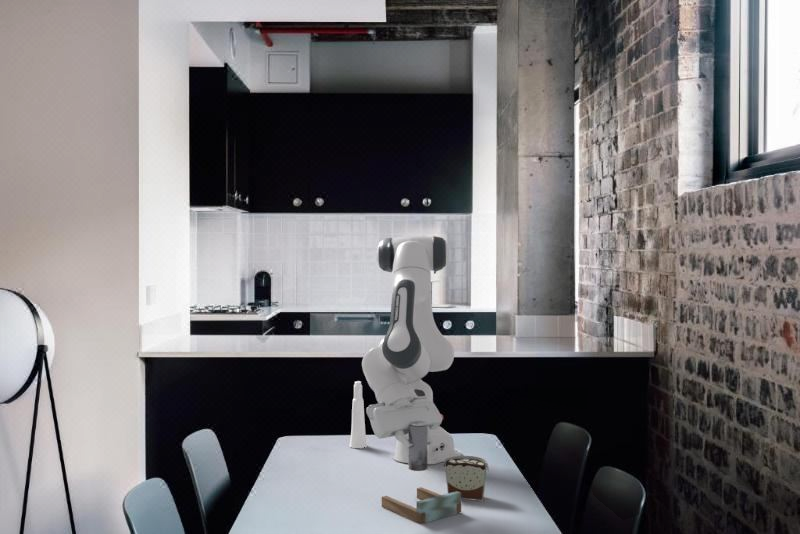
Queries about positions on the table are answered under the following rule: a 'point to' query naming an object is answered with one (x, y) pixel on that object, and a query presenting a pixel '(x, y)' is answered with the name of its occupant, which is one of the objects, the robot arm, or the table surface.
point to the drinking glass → (418, 446)
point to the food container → (466, 476)
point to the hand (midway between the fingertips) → (419, 445)
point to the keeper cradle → (426, 506)
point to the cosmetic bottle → (358, 419)
